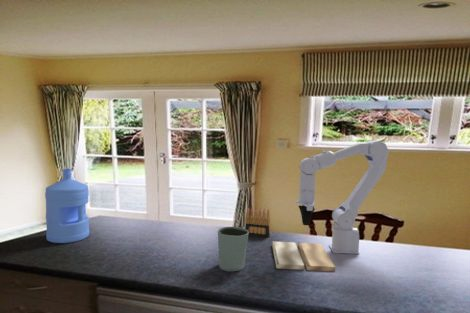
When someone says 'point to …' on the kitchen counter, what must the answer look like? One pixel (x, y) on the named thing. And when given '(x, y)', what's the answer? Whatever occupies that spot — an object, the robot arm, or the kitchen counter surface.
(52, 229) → the water jug
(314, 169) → the robot arm
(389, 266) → the kitchen counter surface
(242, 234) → the green cup
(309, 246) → the laid plank
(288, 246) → the plank
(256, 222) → the ammunition clip
